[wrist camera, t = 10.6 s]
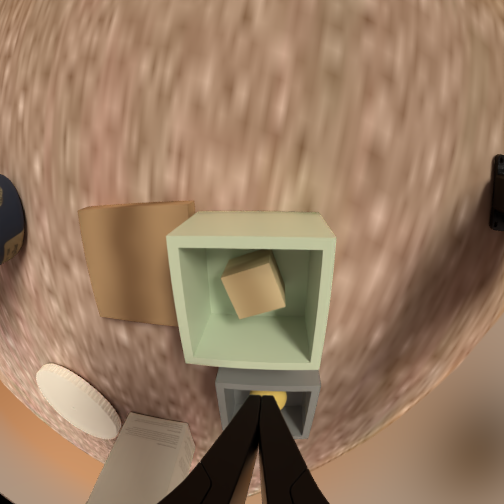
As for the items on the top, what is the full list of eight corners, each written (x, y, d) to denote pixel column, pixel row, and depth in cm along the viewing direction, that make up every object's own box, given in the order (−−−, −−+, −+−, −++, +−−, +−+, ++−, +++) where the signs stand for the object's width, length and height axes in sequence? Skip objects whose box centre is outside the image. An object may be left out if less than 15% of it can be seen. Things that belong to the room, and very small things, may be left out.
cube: (270, 246, 18) (268, 262, 16) (284, 284, 19) (285, 306, 17) (228, 259, 19) (220, 278, 16) (244, 296, 20) (239, 319, 17)
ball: (287, 372, 22) (288, 399, 19) (285, 395, 23) (285, 422, 20) (250, 371, 22) (246, 398, 19) (251, 394, 23) (247, 420, 20)
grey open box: (315, 347, 22) (321, 385, 18) (306, 403, 24) (308, 438, 20) (225, 345, 23) (214, 382, 18) (230, 401, 25) (223, 435, 21)
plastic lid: (113, 437, 33) (108, 448, 30) (44, 387, 31) (36, 396, 29) (135, 406, 28) (127, 420, 26) (47, 341, 26) (36, 351, 24)
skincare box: (142, 435, 30) (106, 520, 16) (128, 408, 28) (80, 503, 13) (198, 447, 30) (172, 543, 15) (190, 421, 27) (155, 534, 13)
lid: (196, 199, 19) (187, 204, 17) (205, 314, 22) (199, 328, 20) (91, 205, 20) (77, 210, 18) (110, 305, 23) (100, 316, 21)
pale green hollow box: (318, 212, 18) (336, 238, 13) (310, 317, 21) (319, 369, 15) (198, 211, 19) (166, 235, 13) (206, 313, 22) (185, 363, 16)
